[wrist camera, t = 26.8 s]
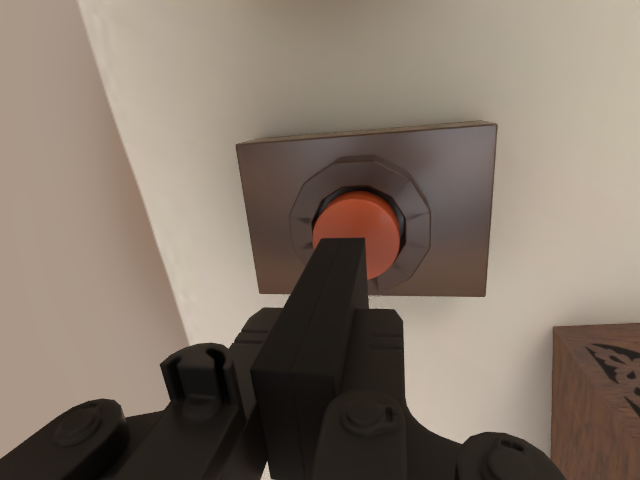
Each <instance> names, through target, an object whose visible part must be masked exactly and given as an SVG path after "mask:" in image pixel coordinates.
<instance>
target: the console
mask: <svg viewBox="0 0 640 480" xmlns="http://www.w3.org/2000/svg"><path fill="white" fill-rule="evenodd" d="M497 127H498V125H497V124H496V123H491V122H485V121H472V122H459V123H447V124H434V125H422V126H410V127H397V128H385V129H373V130H360V131H348V132H335V133H323V134H311V135H298V136H286V137H274V138H261V139H254V140H250V141H246V142H242V143H238V144H236V151H237V158H238V164H239V170H240V176H241V182H242V189H243V195H244V201H245V207H246V213H247V220H248V226H249V232H250V238H251V244H252V251H253V257H254V263H255V269H256V275H257V282H258V288H259V293H260V294H291V293H292V291H293V289H294V287H295V285H296V284H297V282H298V280H299V278H300V276H301V274H302V273H303V271H304V269H305V267H306V265H307V263H308V261H309V260H310V258H311V256H312V254H313V252H314V247H313V230H314V226H315V224H316V221H317V220H318V218H319V216H320V215H321V213H322V212H323V210H324V209H325V207H326V206H327V205H328V204H329V203H330V202H331V201H332V200H333V199H334V198H336V197H337V196H339V195H341V194H343V193H346V192H350V191H367V192H370V193H373V194H376V195H378V196H380V197H381V198H383V199H384V200H385V201H387V202H388V203H389V204H390V206H391V207H392V208H393V210H394V211H395V213H396V215H397V218H398V222H399V229H400V247H399V252H398V254H397V257H396V259H395V261H394V262H393V264H392V265H391V266H390V267H389V268H388V269H387V270H386V271H385V272H384V273H382V274H381V275H379V276H377V277H375V278H372V279H369V280H367V284H368V295H385V296H457V297H485V295H486V282H487V268H488V253H489V239H490V225H491V211H492V197H493V183H494V169H495V155H496V141H497Z"/></svg>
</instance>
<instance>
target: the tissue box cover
mask: <svg viewBox="0 0 640 480" xmlns="http://www.w3.org/2000/svg"><path fill="white" fill-rule="evenodd" d="M553 328H554V333H553V381H552V429H551V461H552V462H553V463H554V464H555V465H556V466H557V467H558V468H559V470H560V471H561V472H562V474H563V475H564V477H565V478H566V480H640V323H632V324H610V325H587V326H565V327H553Z"/></svg>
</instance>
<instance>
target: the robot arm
mask: <svg viewBox="0 0 640 480" xmlns="http://www.w3.org/2000/svg"><path fill="white" fill-rule="evenodd" d="M234 341H235V342H234V343H232V345H231V346H230V348H229V349H228V348H227V347H225V346H224V345H221V344H216V343H201V344H196V345H192V346H189V347H186V348H183V349H181V350H179V351H177V352H175V353H174V354H172V355H170V356H169V357H168V358H167V359H166V360H164V361H163V362H162V363H161V364H160V367H161V370H162V374H163V377H164V380H165V384H166V387H167V390H168V394H169V397H170V400H171V402H170V403H169V405H168V406H167V407H166V408H165V410H163V411H159V412H153V413H148V414H143V415H137V416H131V417H126V418H125V416H124V413H123V411H122V408H121V405H119V404H118V403H117V402H116V401H115V400H109V399H98V400H92V401H88V402H85V403H83V404H80V405H77V406H75V407H72V408H71V409H69V410H68V411H66V412H64V413H63V414H61V415H59V416H58V417H56V418H55V419H54V420H52V421H51V422H50V423H48V424H47V425H46V426H44V427H43V428H42V429H40V430H39V431H38V432H36V433H35V434H33V435H32V436H31V437H29V438H28V439H27V440H25V441H24V442H23V443H21V444H20V445H19V446H17V447H16V448H15V449H13V450H12V451H10V452H9V453H8V454H7V455H5V456H4V457H2V458H1V459H0V480H260V479H261V476H262V474H263V471H264V468H265V465H266V462H267V461H268V466H269V471H270V477H271V479H274V480H566V478H565V477H564V475H563V474H562V472H561V471H560V470H559V468H558V467H557V466H556V465H555V464H554V463H553V462H552V461H551V460H550V459H549V458H548V457H547V455H546V454H545V453H544V452H542V451H541V450H539V449H538V448H536V447H535V446H533V445H532V444H530V443H528V442H527V441H525V440H523V439H520V438H518V437H515V436H512V435H509V434H506V433H496V432H484V433H480V434H477V435H474V436H470V437H469V438H468V439H467V440H466V441H465V442H464V443H463V444H460V443H457V442H454V441H452V440H449V439H446V438H444V437H441V436H439V435H437V434H435V433H433V432H431V431H429V430H428V429H426V428H425V427H424V426H422V425H421V424H420V423H418V421H417V420H416V419H415V418H414V417H413V416H412V415H411V413H410V411H409V409H408V407H407V404H406V399H405V376H404V338H403V320H402V319H401V318H400V316H399V315H398V314H397V312H396V311H395V310H394V309H369V304H368V284H367V265H366V245H365V237H364V238H321V239H320V241H319V243H318V245H317V247H316V249H315V250H314V252H313V254H312V256H311V258H310V260H309V261H308V263H307V265H306V267H305V269H304V271H303V273H302V274H301V276H300V278H299V280H298V282H297V284H296V285H295V287H294V289H293V291H292V293H291V295H290V296H289V298H288V300H287V302H286V304H285V306H284V308H262V309H261V310H260V311H258V312H257V313H255V314H254V315H253V316H251V317H250V318H249V319H248V321H247V322H246V324H245V325H244V327H243V328H242V330H241V332H240V333H239V334H238V336H237V337H236V339H235V340H234Z"/></svg>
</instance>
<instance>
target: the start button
mask: <svg viewBox="0 0 640 480" xmlns="http://www.w3.org/2000/svg"><path fill="white" fill-rule="evenodd" d="M364 237H365V245H366V265H367V280H369V279H372V278H375V277H377V276H379V275H381V274H382V273H384V272H385V271H386V270H387V269H388V268H389V267H390V266H391V265H392V264H393V262H394V261H395V259H396V257H397V254H398V252H399V247H400V229H399V222H398V218H397V215H396V213H395V211H394V210H393V208H392V207H391V206H390V204H389V203H388V202H387V201H385V200H384V199H383V198H381V197H380V196H378V195H376V194H373V193H370V192H367V191H350V192H346V193H343V194H341V195H339V196H337V197H336V198H334V199H333V200H332V201H331V202H330V203H329V204H328V205H327V206H326V207H325V209H324V210H323V212H322V213H321V215H320V216H319V218H318V220H317V221H316V224H315V226H314V230H313V247H314V250H315V249H316V247H317V245H318V243H319V241H320V239H321V238H364Z"/></svg>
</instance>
